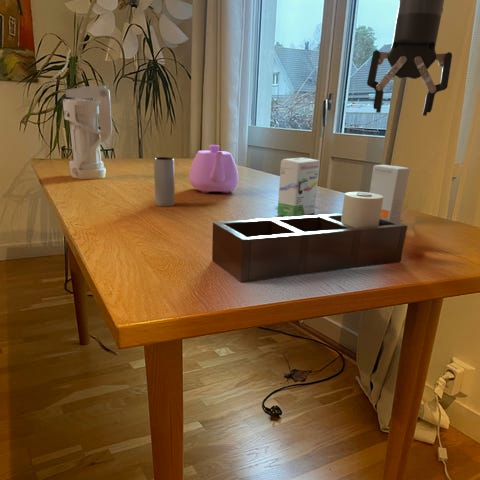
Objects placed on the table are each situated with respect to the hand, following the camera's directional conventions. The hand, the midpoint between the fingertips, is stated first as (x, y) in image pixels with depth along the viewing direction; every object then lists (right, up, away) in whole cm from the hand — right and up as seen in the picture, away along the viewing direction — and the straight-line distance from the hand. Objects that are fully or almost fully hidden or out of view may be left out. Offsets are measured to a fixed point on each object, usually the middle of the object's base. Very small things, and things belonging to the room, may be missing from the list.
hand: (401, 114), depth 91 cm
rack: (-20, -30, -15) cm, 39 cm away
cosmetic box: (-1, -19, +10) cm, 22 cm away
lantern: (-76, +4, +54) cm, 93 cm away
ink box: (-18, -15, +17) cm, 29 cm away
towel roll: (-12, -29, -12) cm, 33 cm away
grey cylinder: (-48, -12, +20) cm, 54 cm away
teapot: (-38, -4, +39) cm, 55 cm away
